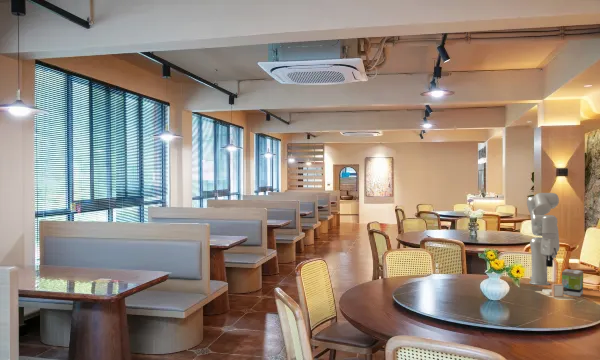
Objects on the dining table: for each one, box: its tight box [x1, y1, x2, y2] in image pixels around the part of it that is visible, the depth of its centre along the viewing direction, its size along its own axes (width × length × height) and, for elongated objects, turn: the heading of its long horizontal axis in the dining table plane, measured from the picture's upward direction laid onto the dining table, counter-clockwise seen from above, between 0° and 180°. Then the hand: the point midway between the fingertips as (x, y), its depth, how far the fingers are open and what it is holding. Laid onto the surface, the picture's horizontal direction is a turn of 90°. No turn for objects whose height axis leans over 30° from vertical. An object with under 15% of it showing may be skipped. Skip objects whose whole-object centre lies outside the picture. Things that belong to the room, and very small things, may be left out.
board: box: [534, 290, 576, 301], centre depth 271 cm, size 22×11×1 cm, turn 5°
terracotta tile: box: [551, 283, 563, 297], centre depth 268 cm, size 2×6×7 cm, turn 95°
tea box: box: [561, 268, 584, 297], centre depth 278 cm, size 15×10×15 cm, turn 143°
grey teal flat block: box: [542, 288, 552, 295], centre depth 275 cm, size 2×6×7 cm
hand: (549, 266), depth 276 cm, fingers closed
